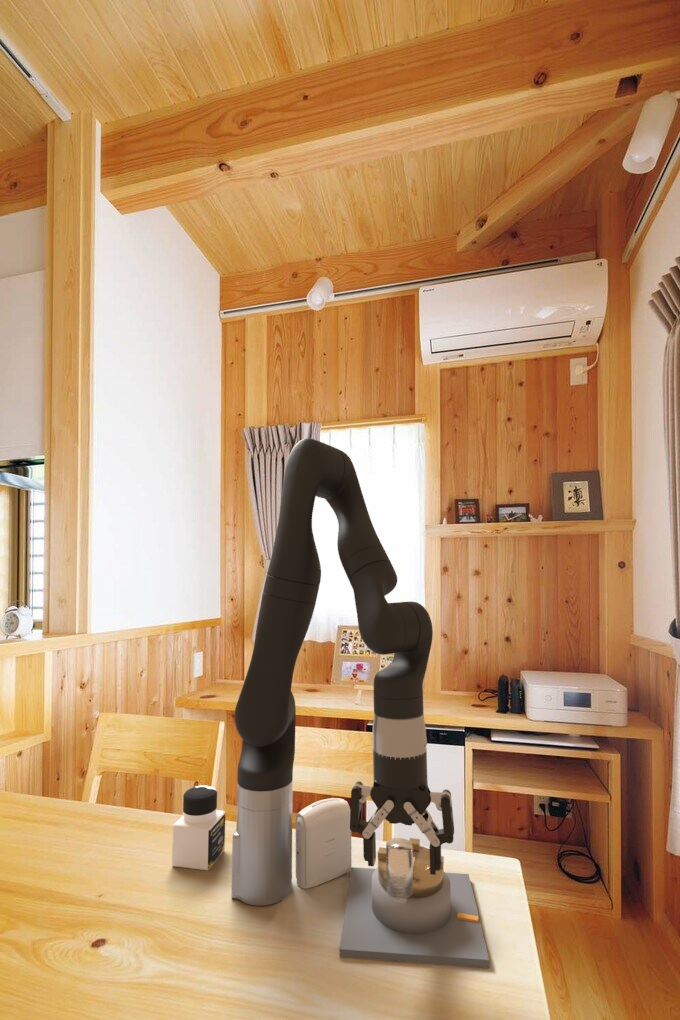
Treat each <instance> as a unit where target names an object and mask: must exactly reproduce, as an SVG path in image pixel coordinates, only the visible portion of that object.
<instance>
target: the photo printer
mask: <svg viewBox="0 0 680 1020" xmlns="http://www.w3.org/2000/svg"><path fill="white" fill-rule="evenodd" d="M350 810H351V806H350V805H349V803H348V801H347V800H345V799H344V798H340V797H339V798H338V797H330V798H325V799H320V800H318V801H315V802H313V803H311V804H310V805H307V806H306V807H304V808H302V809H301V810H300V811H299V812H298V813H297V814H296V816H295V879H296V884H297V886H298V887H299V888H301V889H304V890H305V889H310V888H314V887H317V886H318V885H321V884H324V883H326V882H329V881H333V880H335V879H337V878H338V877H341V876H343V875H345V874H347V873H349V872H351V867H352V831H351V830H350Z"/></svg>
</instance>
